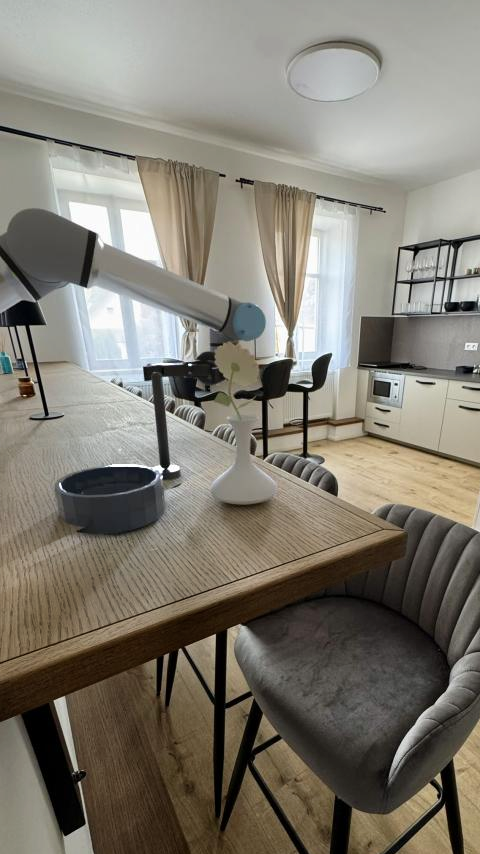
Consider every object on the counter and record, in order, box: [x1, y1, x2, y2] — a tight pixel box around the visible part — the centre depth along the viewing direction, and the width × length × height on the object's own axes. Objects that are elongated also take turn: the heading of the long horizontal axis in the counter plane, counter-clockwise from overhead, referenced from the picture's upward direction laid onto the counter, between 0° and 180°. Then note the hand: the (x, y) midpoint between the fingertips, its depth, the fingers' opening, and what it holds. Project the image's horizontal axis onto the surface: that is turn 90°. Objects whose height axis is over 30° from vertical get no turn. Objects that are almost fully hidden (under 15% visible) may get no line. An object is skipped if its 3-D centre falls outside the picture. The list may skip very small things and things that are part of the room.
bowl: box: [53, 464, 166, 535], centre depth 61 cm, size 15×15×6 cm
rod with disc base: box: [151, 372, 182, 489], centre depth 73 cm, size 5×5×20 cm
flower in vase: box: [209, 342, 278, 506], centre depth 66 cm, size 13×11×25 cm
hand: (178, 375), depth 78 cm, fingers open, 13 cm apart
